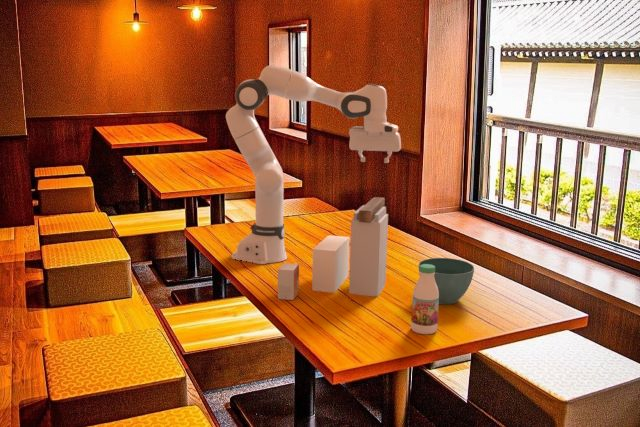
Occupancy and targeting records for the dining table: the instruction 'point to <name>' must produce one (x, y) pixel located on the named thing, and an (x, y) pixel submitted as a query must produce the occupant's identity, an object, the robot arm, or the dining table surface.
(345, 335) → the dining table surface
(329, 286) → the block
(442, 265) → the green bowl
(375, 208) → the rod
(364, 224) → the stand
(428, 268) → the milk bottle
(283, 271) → the small box
